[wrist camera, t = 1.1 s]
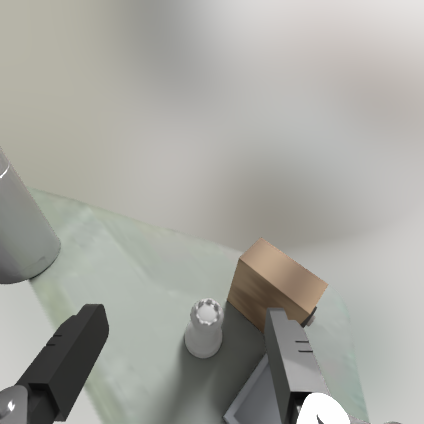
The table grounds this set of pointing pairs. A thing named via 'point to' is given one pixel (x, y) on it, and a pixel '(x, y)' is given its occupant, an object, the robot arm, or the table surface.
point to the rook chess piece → (204, 328)
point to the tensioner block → (274, 286)
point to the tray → (255, 399)
